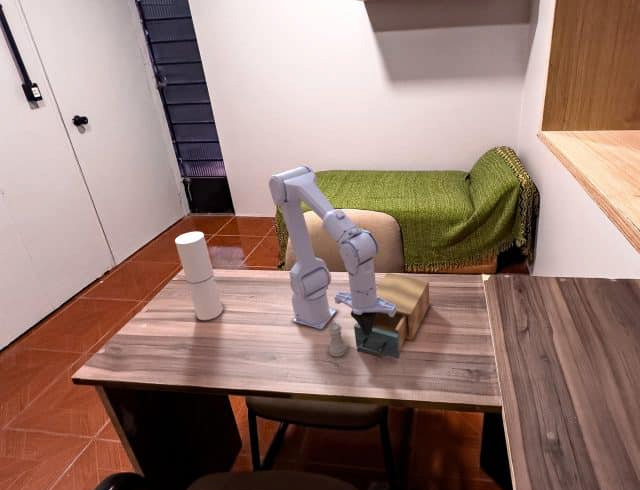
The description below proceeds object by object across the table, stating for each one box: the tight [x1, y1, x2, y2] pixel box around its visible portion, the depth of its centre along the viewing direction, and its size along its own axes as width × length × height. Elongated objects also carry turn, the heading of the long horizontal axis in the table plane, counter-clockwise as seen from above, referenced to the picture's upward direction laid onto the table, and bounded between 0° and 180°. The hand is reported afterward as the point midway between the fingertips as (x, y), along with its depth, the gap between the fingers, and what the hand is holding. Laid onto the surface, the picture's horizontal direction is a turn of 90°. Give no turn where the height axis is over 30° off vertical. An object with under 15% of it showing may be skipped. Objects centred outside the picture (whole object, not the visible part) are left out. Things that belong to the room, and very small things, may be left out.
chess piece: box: [327, 322, 348, 357], centre depth 97 cm, size 4×4×8 cm
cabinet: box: [376, 272, 430, 341], centre depth 107 cm, size 15×13×9 cm
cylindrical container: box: [174, 231, 224, 321], centre depth 111 cm, size 7×7×25 cm
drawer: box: [353, 312, 409, 360], centre depth 98 cm, size 18×11×7 cm, turn 156°
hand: (367, 332), depth 91 cm, fingers closed
